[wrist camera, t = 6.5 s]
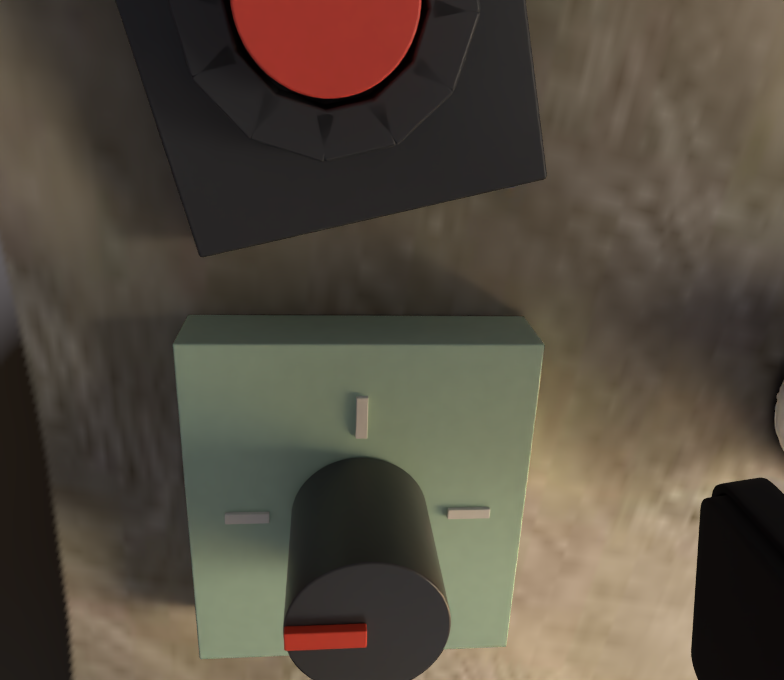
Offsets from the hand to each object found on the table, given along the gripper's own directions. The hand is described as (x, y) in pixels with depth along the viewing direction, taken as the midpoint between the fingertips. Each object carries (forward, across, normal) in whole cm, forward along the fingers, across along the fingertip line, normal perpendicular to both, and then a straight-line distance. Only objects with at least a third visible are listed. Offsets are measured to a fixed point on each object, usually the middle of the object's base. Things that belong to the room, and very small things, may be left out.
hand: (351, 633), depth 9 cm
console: (+15, 0, +7) cm, 16 cm away
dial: (+12, 0, +7) cm, 14 cm away
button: (+11, -1, -8) cm, 14 cm away
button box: (+15, -1, -8) cm, 17 cm away
